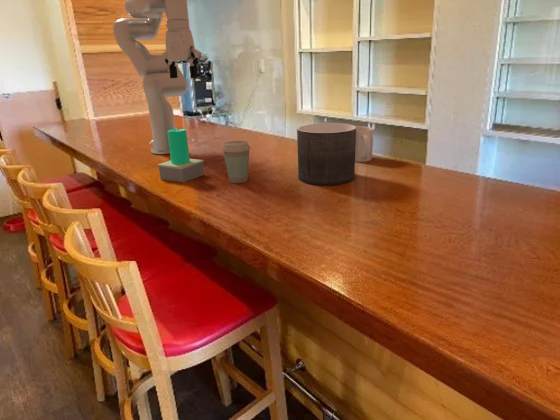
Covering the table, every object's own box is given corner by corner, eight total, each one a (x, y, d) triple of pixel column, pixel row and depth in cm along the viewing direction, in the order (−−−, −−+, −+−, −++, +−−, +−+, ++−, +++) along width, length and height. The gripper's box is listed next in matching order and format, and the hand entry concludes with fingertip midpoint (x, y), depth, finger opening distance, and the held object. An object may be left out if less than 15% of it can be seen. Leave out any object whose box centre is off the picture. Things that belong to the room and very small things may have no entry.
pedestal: (159, 179, 138) (157, 164, 137) (181, 171, 147) (180, 157, 145) (183, 182, 133) (181, 167, 132) (204, 174, 142) (203, 160, 140)
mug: (376, 156, 156) (378, 126, 153) (368, 164, 146) (370, 132, 142) (349, 155, 161) (349, 125, 157) (339, 162, 151) (340, 131, 147)
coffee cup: (256, 177, 136) (253, 140, 132) (245, 185, 128) (242, 146, 124) (232, 176, 139) (229, 140, 135) (220, 183, 131) (216, 145, 127)
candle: (185, 164, 135) (181, 126, 131) (168, 164, 136) (163, 126, 132) (192, 160, 141) (188, 123, 137) (175, 159, 142) (171, 123, 138)
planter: (317, 189, 122) (317, 135, 116) (288, 175, 137) (286, 127, 131) (366, 179, 129) (368, 128, 124) (333, 167, 144) (334, 121, 139)
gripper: (152, 27, 147) (159, 78, 153) (189, 24, 139) (195, 78, 145) (167, 28, 153) (173, 77, 159) (204, 25, 145) (209, 77, 151)
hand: (184, 77), depth 152 cm, fingers open, 9 cm apart
